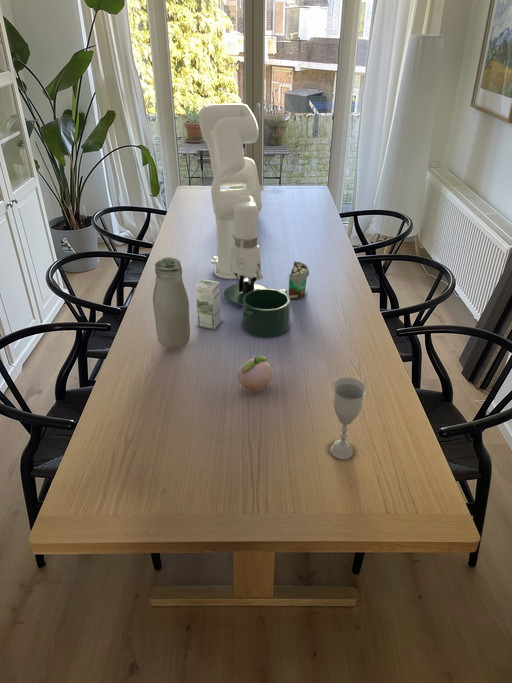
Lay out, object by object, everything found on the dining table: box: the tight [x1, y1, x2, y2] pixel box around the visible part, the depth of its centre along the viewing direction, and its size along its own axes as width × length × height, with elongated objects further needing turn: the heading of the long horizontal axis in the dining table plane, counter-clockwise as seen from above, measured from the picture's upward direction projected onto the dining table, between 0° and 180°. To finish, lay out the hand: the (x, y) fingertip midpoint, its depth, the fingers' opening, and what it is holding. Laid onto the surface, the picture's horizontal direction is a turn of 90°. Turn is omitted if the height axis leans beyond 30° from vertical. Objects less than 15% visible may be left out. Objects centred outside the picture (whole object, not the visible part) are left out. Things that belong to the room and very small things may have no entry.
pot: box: [242, 288, 291, 339], centre depth 162 cm, size 15×20×10 cm
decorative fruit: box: [237, 355, 273, 392], centre depth 134 cm, size 9×8×10 cm
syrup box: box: [195, 279, 222, 330], centre depth 161 cm, size 6×6×14 cm
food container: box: [288, 260, 310, 301], centre depth 181 cm, size 12×6×10 cm, turn 168°
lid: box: [223, 277, 267, 306], centre depth 178 cm, size 16×16×6 cm
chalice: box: [330, 377, 367, 460], centre depth 112 cm, size 7×7×18 cm
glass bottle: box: [152, 256, 191, 351], centre depth 147 cm, size 10×10×28 cm
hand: (246, 291), depth 178 cm, fingers closed on lid, 2 cm apart
